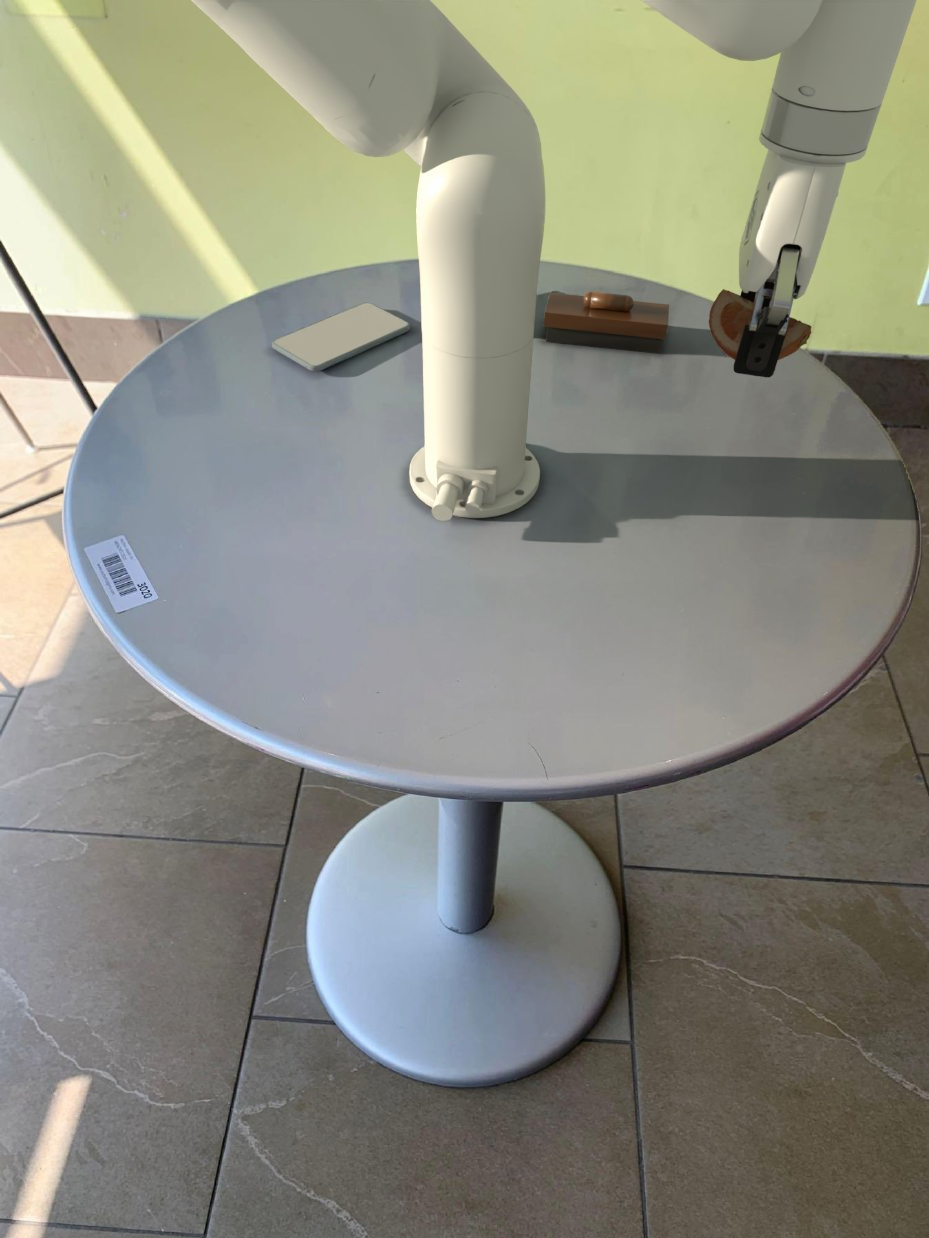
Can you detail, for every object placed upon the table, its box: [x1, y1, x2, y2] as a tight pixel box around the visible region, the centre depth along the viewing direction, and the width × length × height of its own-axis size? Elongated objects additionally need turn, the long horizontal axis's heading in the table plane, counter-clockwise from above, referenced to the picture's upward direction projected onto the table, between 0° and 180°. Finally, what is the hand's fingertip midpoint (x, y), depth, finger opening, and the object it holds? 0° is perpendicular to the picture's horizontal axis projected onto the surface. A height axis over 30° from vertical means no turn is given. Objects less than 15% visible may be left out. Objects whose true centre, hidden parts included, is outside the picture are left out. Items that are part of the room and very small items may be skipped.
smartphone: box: [271, 302, 411, 373], centre depth 106 cm, size 8×1×15 cm
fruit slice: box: [708, 288, 812, 361], centre depth 76 cm, size 8×7×5 cm
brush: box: [543, 291, 670, 354], centre depth 105 cm, size 5×14×6 cm, turn 79°
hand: (752, 348), depth 77 cm, fingers closed on fruit slice, 7 cm apart
